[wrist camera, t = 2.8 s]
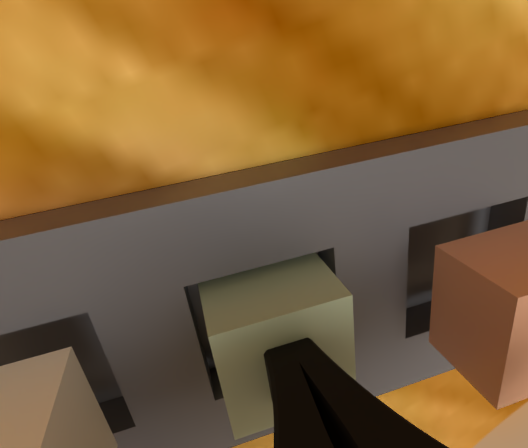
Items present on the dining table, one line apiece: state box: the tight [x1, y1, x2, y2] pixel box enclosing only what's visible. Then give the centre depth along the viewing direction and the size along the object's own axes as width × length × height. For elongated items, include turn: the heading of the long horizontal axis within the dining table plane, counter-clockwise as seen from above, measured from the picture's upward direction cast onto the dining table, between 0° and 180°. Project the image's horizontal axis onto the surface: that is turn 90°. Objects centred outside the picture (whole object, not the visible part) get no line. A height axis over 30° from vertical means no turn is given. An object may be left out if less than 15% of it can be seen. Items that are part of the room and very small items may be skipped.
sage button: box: [198, 252, 356, 440], centre depth 12 cm, size 4×4×3 cm
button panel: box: [0, 110, 528, 448], centre depth 13 cm, size 10×24×2 cm, turn 98°
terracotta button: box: [429, 220, 528, 409], centre depth 12 cm, size 4×4×3 cm
